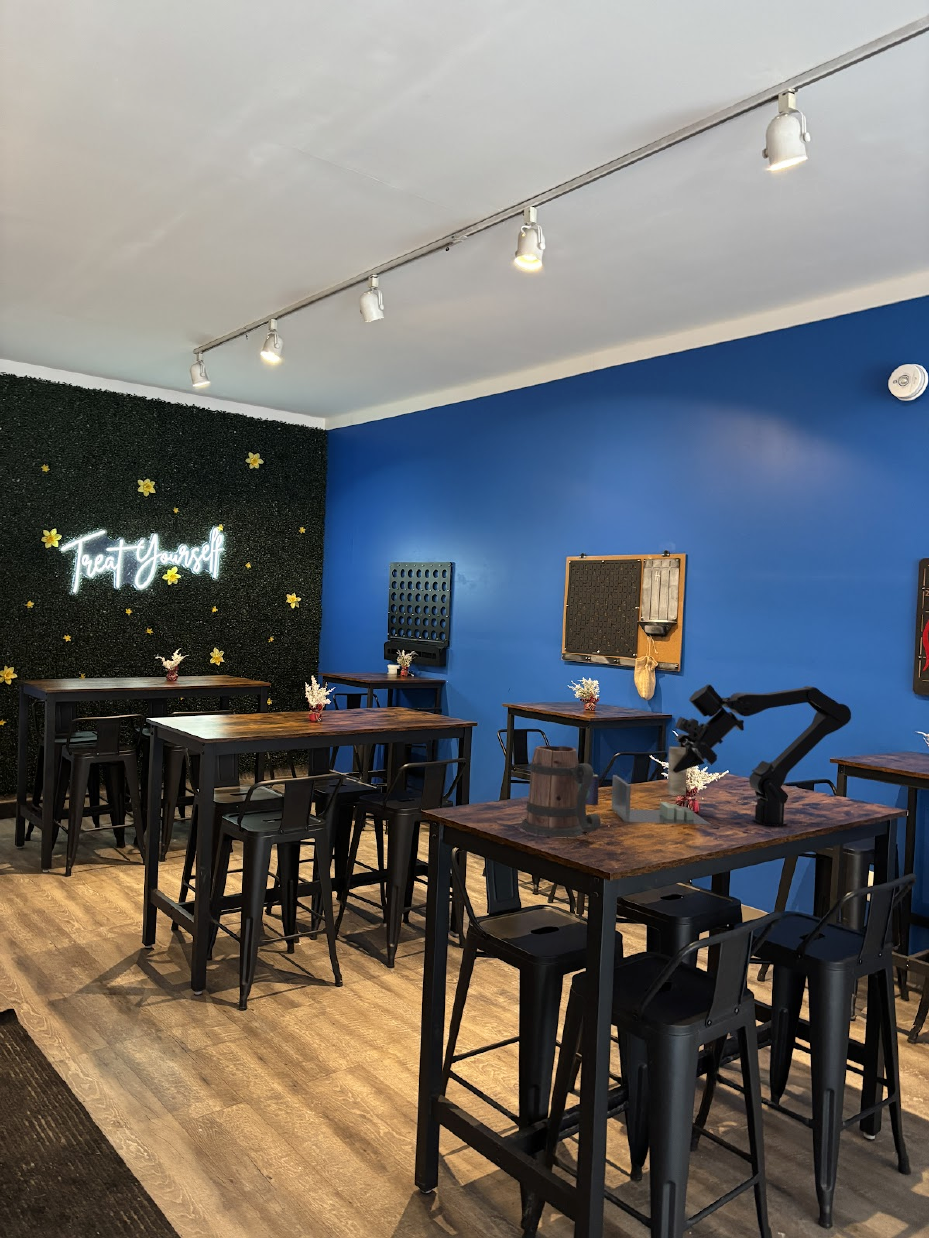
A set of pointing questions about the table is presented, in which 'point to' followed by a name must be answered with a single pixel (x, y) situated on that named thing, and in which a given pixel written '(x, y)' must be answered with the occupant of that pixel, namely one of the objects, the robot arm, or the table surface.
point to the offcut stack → (675, 812)
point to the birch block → (676, 779)
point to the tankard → (559, 794)
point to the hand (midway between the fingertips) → (672, 770)
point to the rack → (622, 808)
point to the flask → (592, 791)
